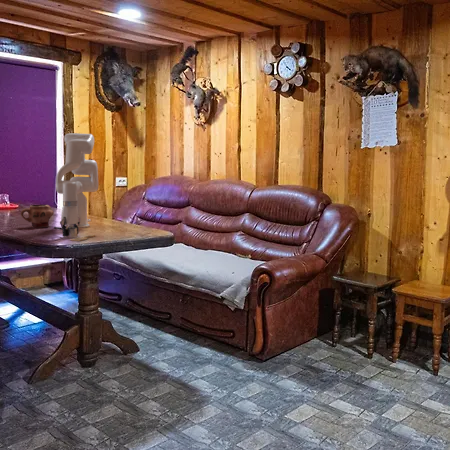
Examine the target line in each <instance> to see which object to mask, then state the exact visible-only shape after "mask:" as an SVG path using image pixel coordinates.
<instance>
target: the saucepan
mask: <svg viewBox="0 0 450 450" xmlns="http://www.w3.org/2000/svg"><path fill="white" fill-rule="evenodd" d="M53 229H54V230H62V231H63V229H62V227H61V226H59V227H58V226H54V227H53ZM67 229H68V236H63V238H66V239H75V238H78V234H77V228H76V227H69V226H68V228H67Z"/></svg>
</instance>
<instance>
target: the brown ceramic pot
mask: <svg viewBox="0 0 450 450" xmlns="http://www.w3.org/2000/svg"><path fill="white" fill-rule="evenodd" d="M24 213H27V215H28V217H25V216H24ZM54 214H55V212H54V211H53V210H52V207H51V206H50V205H49V204H30V205H29V208H24V209H22V210H21V212H20V216H21V218H22V219H24V220H25V221H26V222H28V223H31V227H32V228H35V229H37V228H39V229H40V228H47V227H49V226H50V223H49V222H50V219H51V218H52V217H53V216H54Z"/></svg>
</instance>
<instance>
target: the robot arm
mask: <svg viewBox="0 0 450 450" xmlns="http://www.w3.org/2000/svg"><path fill="white" fill-rule="evenodd" d="M63 140H64V143H65V163H64V164H63V165H62V166H61V167H60V169H59V170H58V171H57V173H56V177H55V179H56V180H55V190H56V193H57V194H60V195H62V207H61V215H60V221H59V225H60V227H61V228H62V229H63V230H62V236H63V237H64V236H68V229H67V228H68V227H76V228H77V235H79V228H80V229H82V228H90V226H91V225H90V224H89V223H91V222H92V220H91V218H88V199H87V196H86V195H85V194H84V193H95V192H97V191H98V190H99V166H98V162H97V161H96V160H94V159H86V155H91V154H92V152H93V150H94V146H95V136H94V135H93V134H92V133H77V132H74V133H72V132H70V133H66V134H65V135H64V138H63ZM69 172H71V173H72V174H73V175H75V176H73V177H71V178H70V179H69V180H63V177H65V175H66V174H67V173H69ZM76 175H77V176H76Z"/></svg>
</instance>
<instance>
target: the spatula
mask: <svg viewBox="0 0 450 450" xmlns="http://www.w3.org/2000/svg"><path fill="white" fill-rule="evenodd" d="M94 237H96V234H89V235H86V236H81V237H76V238H69V239H70V240H69V241H72V242H82V241H83V242H84V241H86V240H88V239H90V238H94Z"/></svg>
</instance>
